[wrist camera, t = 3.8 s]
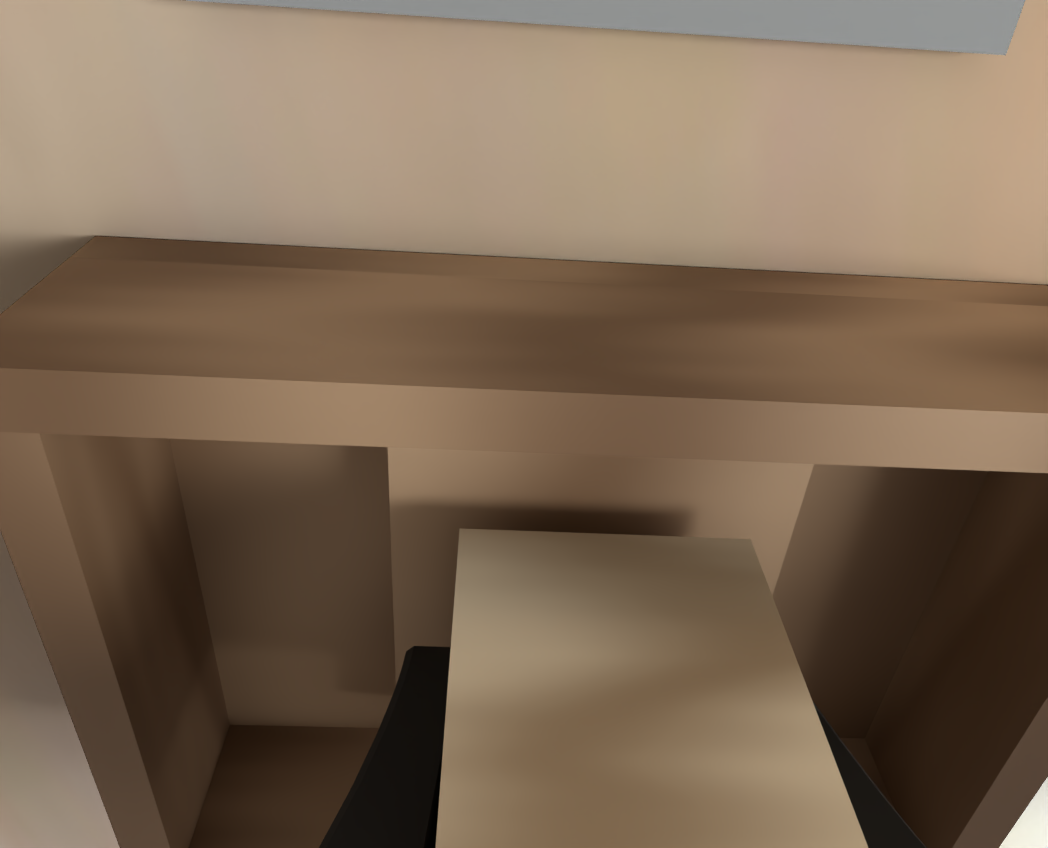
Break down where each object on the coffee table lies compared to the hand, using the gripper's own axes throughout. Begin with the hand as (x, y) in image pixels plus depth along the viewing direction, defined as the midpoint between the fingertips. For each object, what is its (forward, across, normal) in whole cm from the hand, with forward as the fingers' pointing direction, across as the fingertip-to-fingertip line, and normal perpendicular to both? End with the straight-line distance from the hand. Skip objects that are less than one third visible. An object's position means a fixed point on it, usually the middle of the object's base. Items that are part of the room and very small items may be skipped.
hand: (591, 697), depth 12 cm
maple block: (+1, 0, 0) cm, 1 cm away
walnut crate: (+3, 0, 0) cm, 4 cm away
